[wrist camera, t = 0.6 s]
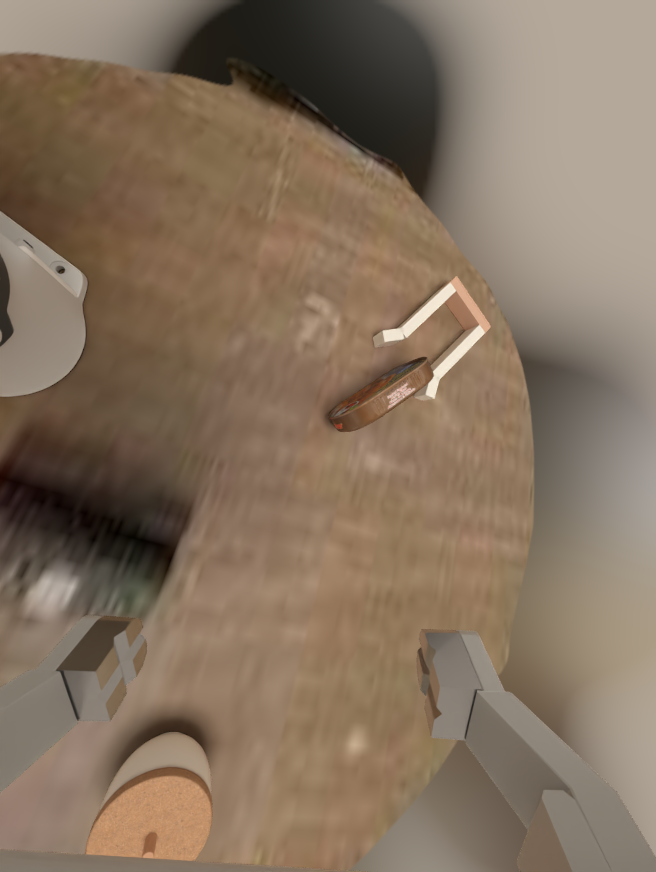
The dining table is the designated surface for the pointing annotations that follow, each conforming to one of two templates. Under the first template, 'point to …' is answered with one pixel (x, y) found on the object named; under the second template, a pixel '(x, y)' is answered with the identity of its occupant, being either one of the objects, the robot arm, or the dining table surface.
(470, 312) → the guide channel
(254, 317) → the dining table surface
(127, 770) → the lidded jar
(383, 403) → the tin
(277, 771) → the dining table surface
